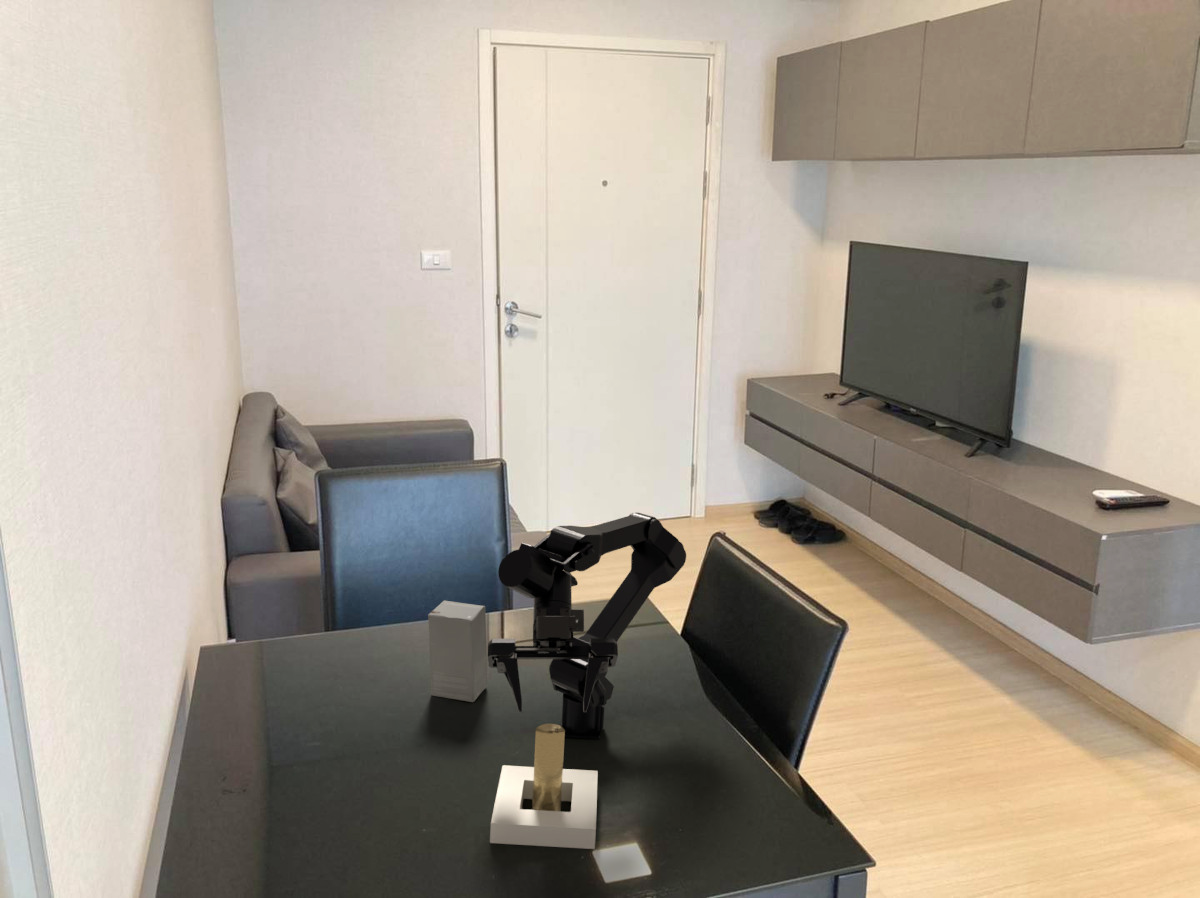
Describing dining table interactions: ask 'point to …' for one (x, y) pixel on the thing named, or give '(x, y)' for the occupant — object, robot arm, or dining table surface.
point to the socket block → (545, 825)
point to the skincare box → (458, 650)
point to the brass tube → (548, 767)
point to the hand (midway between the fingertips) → (552, 711)
